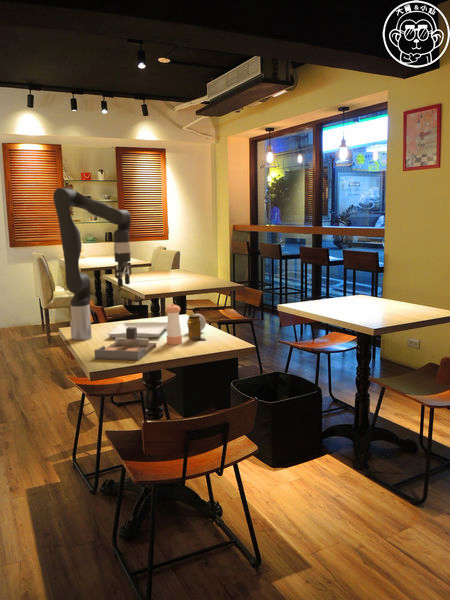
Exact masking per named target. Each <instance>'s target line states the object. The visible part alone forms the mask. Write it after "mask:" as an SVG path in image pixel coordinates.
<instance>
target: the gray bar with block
mask: <svg viewBox="0 0 450 600" xmlns="http://www.w3.org/2000/svg"><path fill="white" fill-rule="evenodd" d="M126 337H127V338H114V343H115V345H135V346H148V345H149V343H150V338H137V327H128V328H126Z"/></svg>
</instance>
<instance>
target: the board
mask: <svg viewBox="0 0 450 600" xmlns="http://www.w3.org/2000/svg"><path fill="white" fill-rule="evenodd" d="M143 347H144V348H145V356H146V355H147V354H149V353H150V352H152V351H153V350H154V349H156V348H157V342H149V345H148V346H135V345H115V342H113V343H112V344H110V345H108V346H107V347H106V346H105V349H106V348H118V350H122V351H125V350H127V349H128V348H134V349H139V350H141V349H142V348H143Z"/></svg>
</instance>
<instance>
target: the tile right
mask: <svg viewBox="0 0 450 600" xmlns="http://www.w3.org/2000/svg"><path fill="white" fill-rule="evenodd" d="M125 351H139V349H134V348H128V349H127V350H125Z"/></svg>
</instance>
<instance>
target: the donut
mask: <svg viewBox="0 0 450 600" xmlns="http://www.w3.org/2000/svg"><path fill="white" fill-rule="evenodd" d="M192 315H198V316H199V319H200V327H201V332H202V331H203V330H204V329H205V327H206V326H207V325H206V323H207V321H206V319H205V317H204V315H202V314H200V313H193V314H192ZM188 321H189V317H188V319H187V321H186V324H187V327H188Z"/></svg>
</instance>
